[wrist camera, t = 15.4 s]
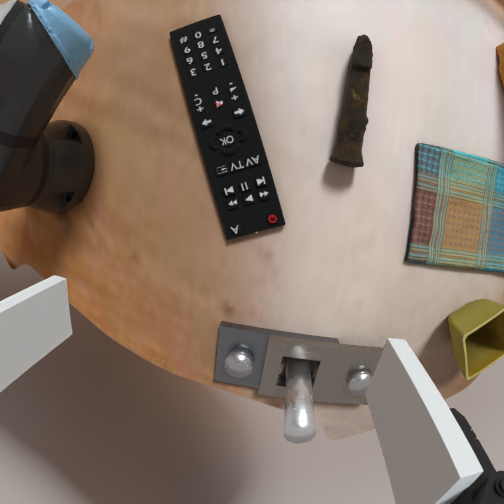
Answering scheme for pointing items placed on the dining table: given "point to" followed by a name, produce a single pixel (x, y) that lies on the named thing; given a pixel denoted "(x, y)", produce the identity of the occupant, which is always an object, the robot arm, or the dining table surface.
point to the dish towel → (456, 210)
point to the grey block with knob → (323, 369)
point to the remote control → (226, 129)
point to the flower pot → (477, 335)
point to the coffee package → (501, 61)
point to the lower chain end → (249, 353)
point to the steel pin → (298, 402)
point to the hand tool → (354, 106)
